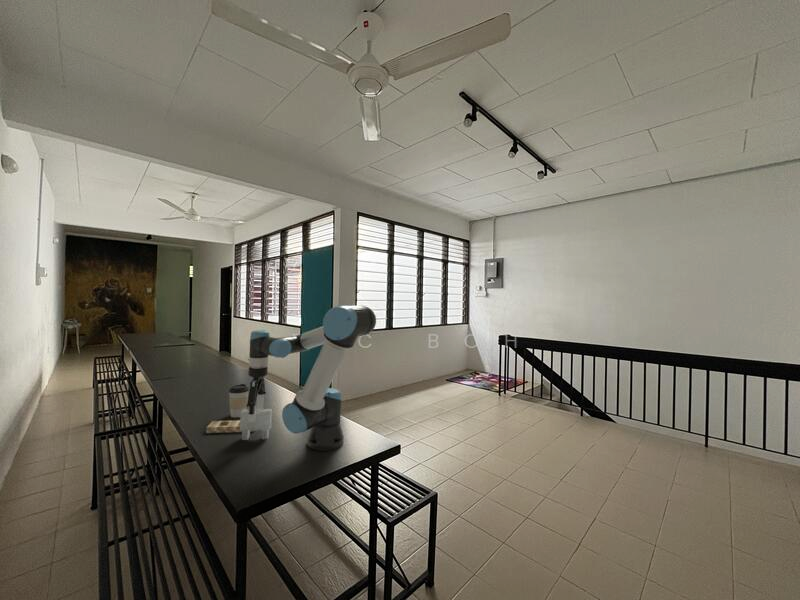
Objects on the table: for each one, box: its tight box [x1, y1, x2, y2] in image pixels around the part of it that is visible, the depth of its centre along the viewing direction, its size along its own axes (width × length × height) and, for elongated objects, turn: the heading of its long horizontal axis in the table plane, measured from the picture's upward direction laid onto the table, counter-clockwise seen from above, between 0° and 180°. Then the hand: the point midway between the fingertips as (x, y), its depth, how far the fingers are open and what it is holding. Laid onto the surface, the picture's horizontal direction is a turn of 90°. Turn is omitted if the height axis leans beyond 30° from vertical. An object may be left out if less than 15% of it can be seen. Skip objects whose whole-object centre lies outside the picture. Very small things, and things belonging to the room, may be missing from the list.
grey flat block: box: [239, 408, 273, 441], centre depth 139 cm, size 12×3×12 cm, turn 101°
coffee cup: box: [228, 383, 250, 419], centre depth 163 cm, size 9×9×15 cm
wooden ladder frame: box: [206, 419, 256, 434], centre depth 147 cm, size 20×7×2 cm, turn 101°
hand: (255, 414), depth 139 cm, fingers open, 13 cm apart
